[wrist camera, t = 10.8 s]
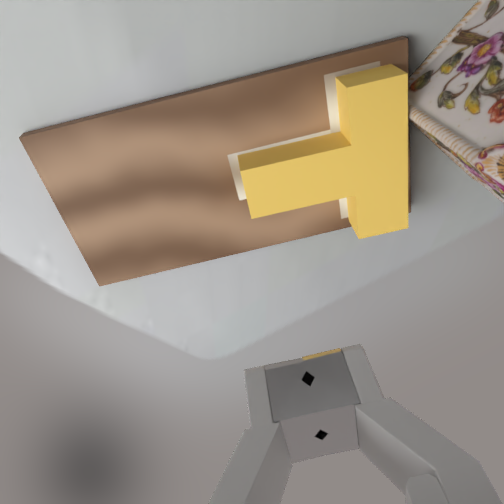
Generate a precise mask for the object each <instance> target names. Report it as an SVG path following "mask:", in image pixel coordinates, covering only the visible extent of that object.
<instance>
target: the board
mask: <svg viewBox="0 0 504 504" xmlns="http://www.w3.org/2000/svg"><path fill="white" fill-rule="evenodd" d="M389 64H392V65H394V66H396V67H398V68H399V69H401V70H403V71H404V72H406V73H408V91H409V70H408V38H406V37H404V36H401V37H397V38H393V39H389V40H385V41H381V42H377V43H373V44H369V45H366V46H362V47H358V48H354V49H350V50H346V51H342V52H338V53H334V54H330V55H326V56H323V57H319V58H315V59H311V60H307V61H303V62H299V63H295V64H291V65H287V66H283V67H280V68H276V69H272V70H268V71H264V72H260V73H256V74H252V75H248V76H244V77H241V78H237V79H233V80H229V81H225V82H221V83H217V84H213V85H209V86H205V87H201V88H198V89H194V90H190V91H186V92H182V93H178V94H174V95H170V96H166V97H162V98H158V99H155V100H151V101H147V102H143V103H139V104H135V105H131V106H127V107H123V108H119V109H116V110H112V111H108V112H104V113H100V114H96V115H92V116H88V117H84V118H80V119H76V120H73V121H69V122H65V123H61V124H57V125H53V126H49V127H45V128H41V129H37V130H33V131H30V132H26V133H23V134H22V135H21V136H20V137H19V139H20V141H21V142H22V144H23V146H24V148H25V150H26V152H27V154H28V155H29V157H30V159H31V161H32V163H33V165H34V166H35V168H36V170H37V172H38V174H39V176H40V178H41V179H42V181H43V183H44V185H45V187H46V189H47V190H48V192H49V194H50V196H51V198H52V200H53V202H54V203H55V205H56V207H57V209H58V211H59V213H60V215H61V216H62V218H63V220H64V222H65V224H66V226H67V227H68V229H69V231H70V233H71V235H72V237H73V239H74V240H75V242H76V244H77V246H78V248H79V250H80V251H81V253H82V255H83V257H84V259H85V261H86V263H87V264H88V266H89V268H90V270H91V272H92V274H93V275H94V277H95V279H96V281H97V283H98V285H99V286H103V285H107V284H112V283H116V282H120V281H124V280H128V279H133V278H137V277H141V276H145V275H149V274H154V273H158V272H162V271H166V270H170V269H175V268H179V267H183V266H187V265H191V264H196V263H200V262H204V261H208V260H212V259H217V258H221V257H225V256H229V255H233V254H238V253H242V252H246V251H250V250H254V249H259V248H263V247H267V246H271V245H275V244H280V243H284V242H288V241H292V240H296V239H301V238H305V237H309V236H313V235H317V234H322V233H326V232H330V231H334V230H339V229H343V228H347V227H351V224H350V222H349V219H348V208H347V198H342V199H338V200H333V201H329V202H325V203H320V204H316V205H311V206H307V207H303V208H298V209H294V210H289V211H285V212H281V213H276V214H272V215H267V216H263V217H259V218H254V219H251V215H250V211H249V206H248V202H247V198H246V194H245V190H244V185H243V181H242V177H241V173H240V168H239V162H238V157H237V155H241V154H245V153H249V152H254V151H258V150H262V149H267V148H271V147H275V146H279V145H284V144H288V143H292V142H297V141H301V140H305V139H310V138H314V137H318V136H322V135H327V134H331V133H335V132H340V122H339V111H338V100H337V89H336V79H335V77H338V76H342V75H346V74H351V73H355V72H359V71H363V70H367V69H372V68H376V67H380V66H384V65H389ZM410 212H411V189H410V129H409V117H408V213H410Z"/></svg>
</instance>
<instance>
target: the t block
mask: <svg viewBox="0 0 504 504" xmlns="http://www.w3.org/2000/svg"><path fill="white" fill-rule="evenodd" d="M335 79H336V89H337V100H338V111H339V122H340V132H335V133H331V134H327V135H322V136H318V137H314V138H310V139H305V140H301V141H297V142H292V143H288V144H284V145H279V146H275V147H271V148H267V149H262V150H258V151H254V152H249V153H245V154H241V155H237V157H238V162H239V168H240V173H241V177H242V181H243V185H244V190H245V194H246V198H247V202H248V206H249V211H250V215H251V219H254V218H259V217H263V216H267V215H272V214H276V213H281V212H285V211H289V210H294V209H298V208H303V207H307V206H311V205H316V204H320V203H325V202H329V201H333V200H338V199H342V198H347V208H348V219H349V222H350V224H351V226H352V227H353V229H354V231H355V233H356V235H357V236H358V238H359V239H361V238H366V237H370V236H375V235H379V234H384V233H388V232H393V231H397V230H402V229H406V228H408V73H406V72H404V71H403V70H401V69H399V68H398V67H396V66H394V65H392V64H389V65H384V66H380V67H376V68H372V69H367V70H363V71H359V72H355V73H351V74H346V75H342V76H338V77H335Z"/></svg>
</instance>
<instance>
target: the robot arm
mask: <svg viewBox="0 0 504 504" xmlns="http://www.w3.org/2000/svg"><path fill="white" fill-rule="evenodd" d="M244 371H245V372H244V379H245V387H246V395H247V404H248V412H249V421H250V428H249V429H245V430H244V432H243V434H242V436H241V438H240V440H239V442H238V444H237V446H236V448H235V450H234V453H233V454H232V457H231V458H230V460H229V462H228V465H227V467H226V469H225V471H224V473H223V475H222V477H221V479H220V481H219V483H218V485H217V487H216V489H215V491H214V493H213V495H212V497H211V499H210V502H209V503H208V504H280V502H281V499H282V496H283V493H284V490H285V487H286V484H287V481H288V478H289V474H290V472H291V468H292V463H296V462H300V461H304V460H308V459H312V458H316V457H320V456H324V455H329V454H334V453H339V452H344V451H350V450H355V449H360V451H361V452H362V453H363V454H364V455H365V456H366V457H367V458H368V459H369V460H370V461H371V462H372V463H373V464H374V465H375V466H376V467H377V468H378V469H379V470H380V471H381V472H382V473H383V474H384V475H385V476H386V477H387V478H389V480H390V481H391V482H392V483H393V484H394V485H395V486H396V487H397V488H398V489H399V490H400V491H402V492H403V494H404V495H405V496H406V503H405V504H502V502H501V500H500V498H499V496H498V495H497V493H496V491H495V489H494V487H493V485H492V484H491V482H490V480H489V478H488V476H487V475H486V473H485V471H484V469H483V467H482V465H481V464H480V462H479V461H478V460H477V459H475V458H474V457H473V456H471V455H470V454H468V453H467V452H466V451H464V450H463V449H461V448H460V447H459V446H457V445H456V444H455V443H453V442H452V441H450V440H449V439H447V438H446V437H445V436H444V435H442V434H441V433H439V432H438V431H437V430H435V429H434V428H432V427H431V426H430V425H428V424H427V423H425V422H424V421H423V420H421V419H420V418H419V417H417V416H416V415H414V414H413V413H412V412H410V411H409V410H407V409H406V408H405V407H403V406H402V405H400V404H399V403H398V402H396V401H395V400H393V399H392V398H384V396H383V394H382V391H381V389H380V386H379V384H378V382H377V379H376V377H375V375H374V372H373V370H372V368H371V365H370V363H369V360H368V358H367V356H366V353H365V351H364V349H363V347H362V346H361V345H360V344H358V345H353V346H349V347H345V348H341V349H340V348H338V349H334V350H330V351H326V352H321V353H317V354H313V355H309V356H305V357H302V358H299V359H294V360H289V361H284V362H279V363H274V364H269V365H264V366H259V367H254V368H250V369H245V370H244Z"/></svg>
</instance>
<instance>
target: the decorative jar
mask: <svg viewBox="0 0 504 504" xmlns="http://www.w3.org/2000/svg"><path fill="white" fill-rule="evenodd" d="M408 117H409V120H410V121H411V122H412V123H413V124H414V125H415V126H416V127H417V128H418V129H419V130H420V131H421V132H423V133H424V134H425V135H426V136H427V137H428V138H429V139H430V140H431V141H432V142H433V143H435V145H436V146H437V147H439V148H440V149H441V150H442V151H443V152H444V153H445V154H446V155H447V156H448V157H450V158H451V159H452V161H454V162H455V163H456V164H457V165H458V166H459V167H461V168H462V169H463V170H464V171H465V172H466V173H467V174H468V175H469V176H471V177H472V178H473V179H474V180H476V181H477V182H479V183H480V184H482V185H483V186H484V187H485V188H486V189H487V190H489V191H490V192H491V193H492V194H493V195H494V196H496V197H497V198H498V199H500V200H501V201H502V202H503V203H504V0H478V1H477V2H476V4H475V5H473V7H472V8H471V9H470V10H469V11H468V12H467V13H466V14H465V16H464V17H463V18H462V19H461V20H460V21H459V22H458V24H457V25H456V26H455V27H454V28H453V29H452V30H451V31H450V32H449V33H448V34H447V35H446V37H445V38H444V39H443V40H442V41H441V42H440V43H439V44H438V46H437V47H436V48H435V49H434V50H433V51H432V52H431V53H430V55H429V56H428V57H427V58H426V59H425V60H424V62H423V63H422V64H421V65H420V66H419V67H418V68H417V70H416V71H415V72H414V73H413V74H412V75H411V76H410V77H409V91H408Z"/></svg>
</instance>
